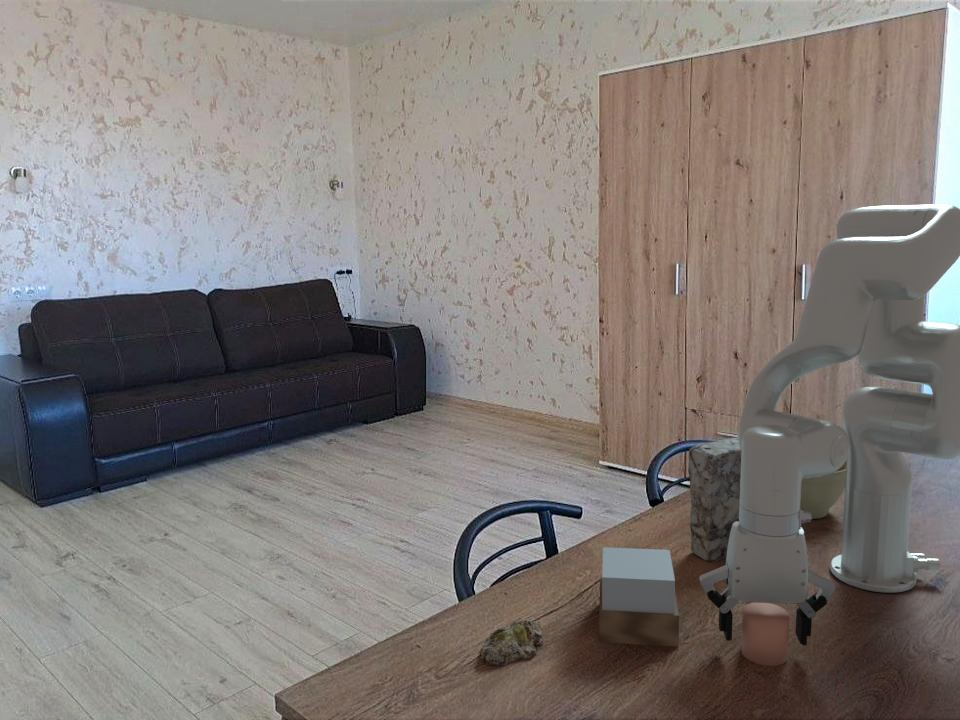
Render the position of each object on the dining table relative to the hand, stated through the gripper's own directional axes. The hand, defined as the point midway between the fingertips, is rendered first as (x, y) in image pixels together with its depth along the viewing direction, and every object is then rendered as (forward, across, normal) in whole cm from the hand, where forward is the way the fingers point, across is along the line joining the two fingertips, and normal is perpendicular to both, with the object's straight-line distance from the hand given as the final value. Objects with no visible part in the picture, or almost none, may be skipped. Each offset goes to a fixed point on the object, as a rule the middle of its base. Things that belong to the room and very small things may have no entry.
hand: (763, 637), depth 103 cm
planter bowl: (+2, -18, -53) cm, 56 cm away
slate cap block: (-2, +17, -6) cm, 18 cm away
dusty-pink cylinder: (+2, 0, 0) cm, 3 cm away
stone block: (+2, 0, -33) cm, 33 cm away
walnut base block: (+3, +17, -6) cm, 18 cm away
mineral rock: (+3, +35, +2) cm, 35 cm away
